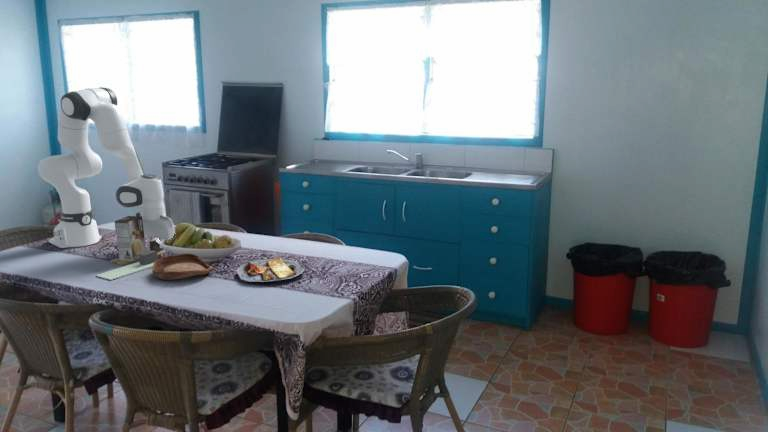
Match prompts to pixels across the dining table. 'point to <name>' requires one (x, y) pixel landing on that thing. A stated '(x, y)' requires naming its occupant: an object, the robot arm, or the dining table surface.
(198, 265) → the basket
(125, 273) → the sage strip
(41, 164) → the robot arm
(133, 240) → the coffee box
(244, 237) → the dining table surface
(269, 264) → the food plate
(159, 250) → the walnut strip
